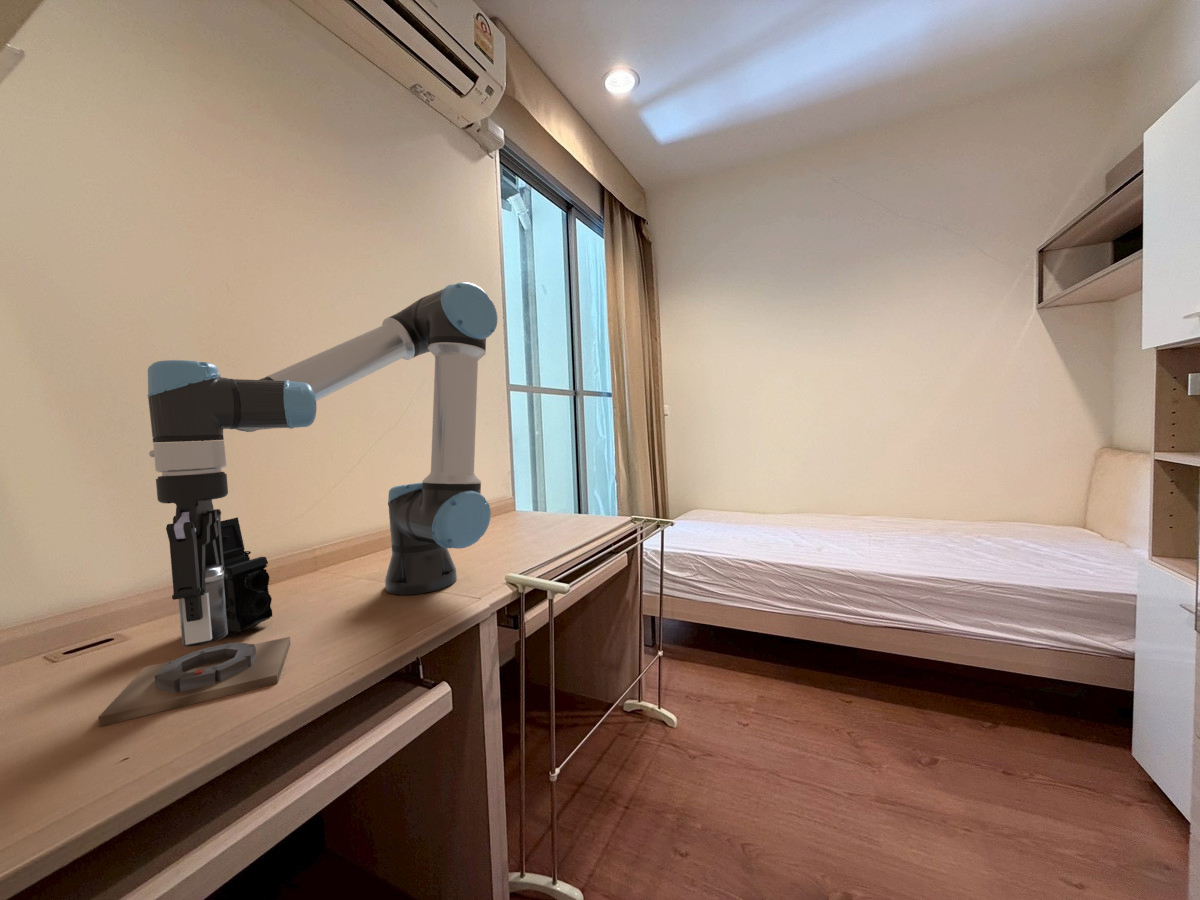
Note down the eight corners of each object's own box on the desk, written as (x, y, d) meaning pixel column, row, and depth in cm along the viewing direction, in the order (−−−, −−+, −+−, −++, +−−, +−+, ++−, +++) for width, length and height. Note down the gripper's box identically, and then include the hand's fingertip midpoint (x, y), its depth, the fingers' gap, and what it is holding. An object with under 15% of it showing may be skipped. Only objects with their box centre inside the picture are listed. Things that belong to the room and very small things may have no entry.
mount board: (290, 643, 77) (289, 625, 77) (277, 683, 65) (275, 661, 64) (145, 674, 69) (143, 654, 68) (99, 726, 56) (96, 701, 56)
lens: (233, 627, 70) (227, 562, 69) (223, 641, 65) (217, 571, 65) (186, 636, 67) (180, 568, 67) (172, 650, 63) (166, 578, 62)
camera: (237, 644, 78) (228, 526, 77) (173, 640, 80) (163, 526, 79) (289, 620, 87) (280, 514, 86) (230, 617, 90) (221, 515, 89)
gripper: (181, 470, 72) (194, 617, 73) (125, 479, 55) (142, 668, 57) (241, 466, 75) (252, 607, 76) (204, 474, 59) (219, 653, 60)
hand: (205, 633), depth 66 cm, fingers closed on lens, 5 cm apart
